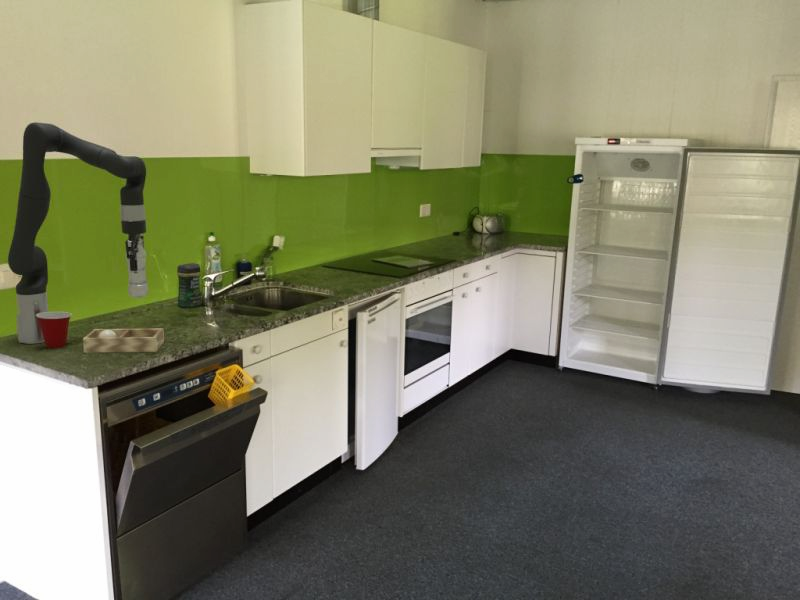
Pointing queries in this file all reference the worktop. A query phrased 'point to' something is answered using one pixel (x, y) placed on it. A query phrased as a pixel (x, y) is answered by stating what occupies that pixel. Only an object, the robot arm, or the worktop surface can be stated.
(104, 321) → the worktop surface
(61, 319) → the plastic cup
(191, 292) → the coffee jar
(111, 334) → the white ball
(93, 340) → the crate
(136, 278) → the plastic bottle
